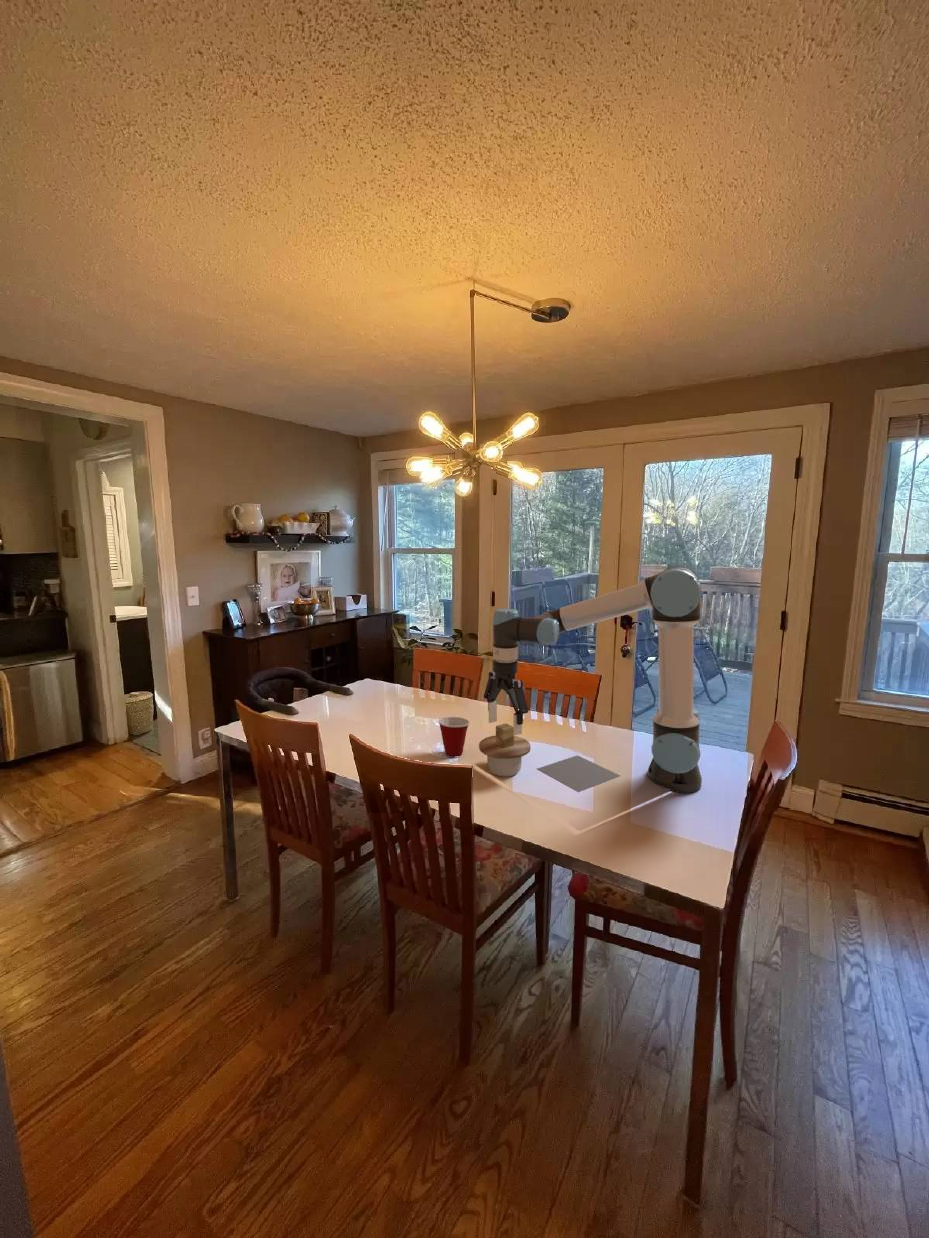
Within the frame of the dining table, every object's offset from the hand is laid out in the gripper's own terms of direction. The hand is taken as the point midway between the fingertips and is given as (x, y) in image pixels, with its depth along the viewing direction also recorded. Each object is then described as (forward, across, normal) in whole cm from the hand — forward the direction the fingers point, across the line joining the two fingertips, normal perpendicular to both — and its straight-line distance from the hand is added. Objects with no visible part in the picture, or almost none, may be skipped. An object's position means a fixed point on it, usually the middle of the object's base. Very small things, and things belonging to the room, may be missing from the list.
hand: (504, 727), depth 160 cm
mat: (+14, +15, +17) cm, 27 cm away
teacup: (+15, 0, 0) cm, 15 cm away
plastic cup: (+15, -20, -6) cm, 25 cm away
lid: (+6, 0, 0) cm, 6 cm away
